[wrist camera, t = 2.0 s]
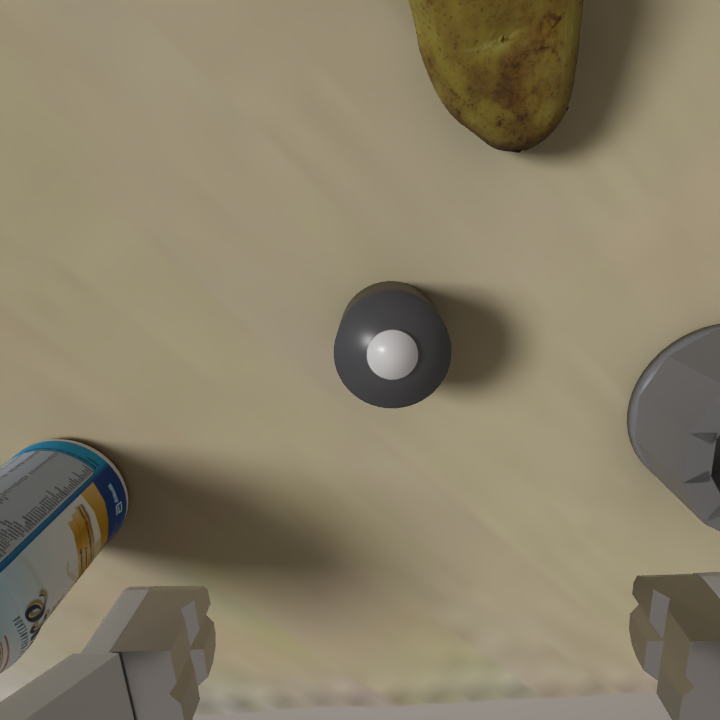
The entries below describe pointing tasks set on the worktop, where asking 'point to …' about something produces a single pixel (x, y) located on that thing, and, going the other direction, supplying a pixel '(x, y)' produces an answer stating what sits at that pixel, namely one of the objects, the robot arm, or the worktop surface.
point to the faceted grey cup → (682, 421)
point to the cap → (391, 346)
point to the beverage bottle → (51, 531)
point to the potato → (501, 64)
